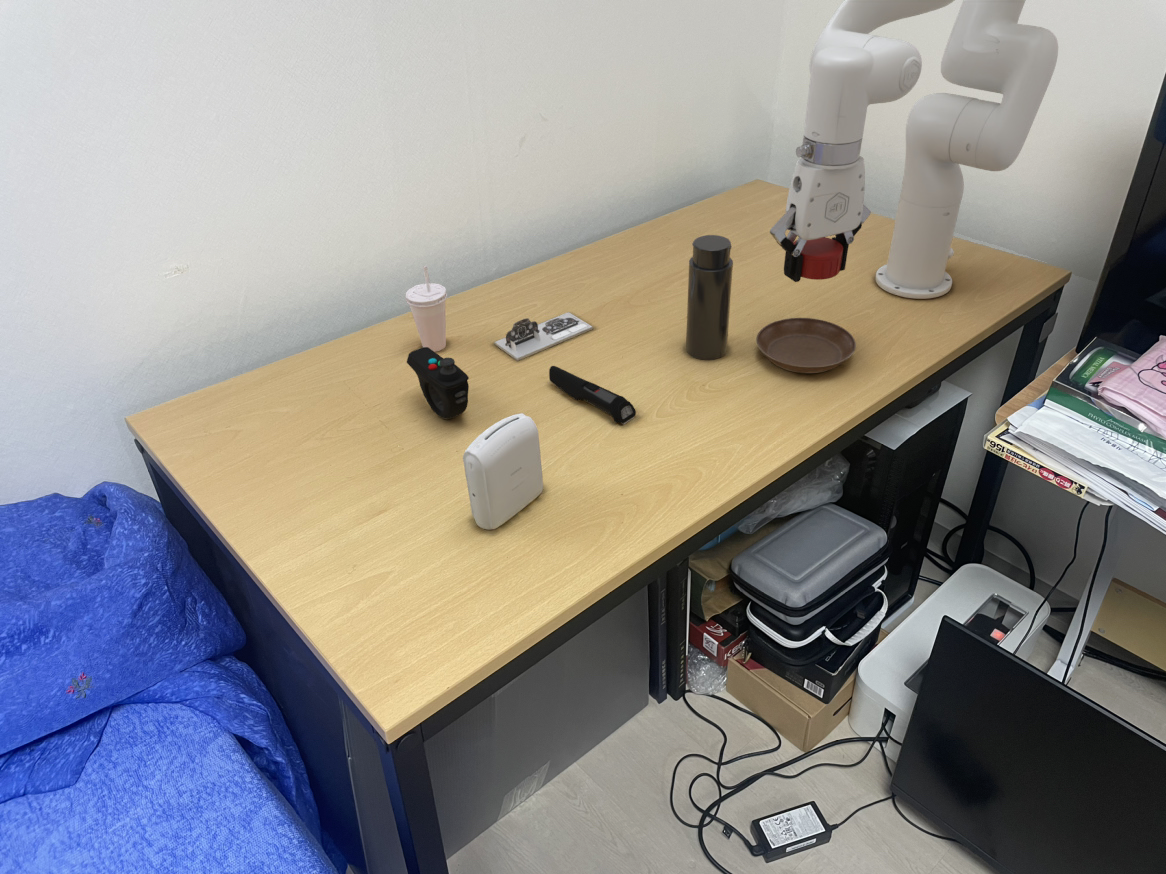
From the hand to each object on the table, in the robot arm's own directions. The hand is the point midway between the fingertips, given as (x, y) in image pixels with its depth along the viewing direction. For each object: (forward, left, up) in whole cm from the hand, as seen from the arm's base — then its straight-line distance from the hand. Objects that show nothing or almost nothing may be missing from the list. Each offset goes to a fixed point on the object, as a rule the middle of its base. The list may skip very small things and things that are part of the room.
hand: (814, 271), depth 126 cm
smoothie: (+37, -45, -14) cm, 60 cm away
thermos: (+8, -12, -14) cm, 21 cm away
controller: (+47, -29, -14) cm, 57 cm away
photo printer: (+54, -6, -14) cm, 56 cm away
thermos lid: (0, 0, 0) cm, 0 cm away
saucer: (0, 0, -14) cm, 14 cm away
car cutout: (+23, -34, -14) cm, 44 cm away
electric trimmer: (+31, -15, -14) cm, 38 cm away
